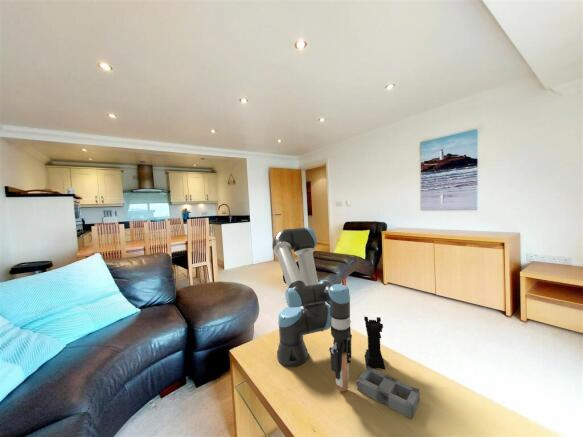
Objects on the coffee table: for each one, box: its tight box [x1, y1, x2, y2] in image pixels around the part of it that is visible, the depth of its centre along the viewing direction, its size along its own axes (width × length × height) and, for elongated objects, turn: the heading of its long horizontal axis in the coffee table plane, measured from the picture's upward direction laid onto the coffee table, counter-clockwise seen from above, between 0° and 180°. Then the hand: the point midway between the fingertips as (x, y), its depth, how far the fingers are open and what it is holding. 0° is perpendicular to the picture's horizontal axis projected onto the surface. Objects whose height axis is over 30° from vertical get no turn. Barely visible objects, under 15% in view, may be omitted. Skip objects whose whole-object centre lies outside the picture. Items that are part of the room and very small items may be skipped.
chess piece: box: [363, 316, 386, 370], centre depth 107 cm, size 8×8×20 cm
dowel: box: [336, 352, 349, 392], centre depth 93 cm, size 4×4×14 cm
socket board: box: [356, 366, 421, 420], centre depth 90 cm, size 20×10×4 cm, turn 48°
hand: (342, 380), depth 93 cm, fingers closed on dowel, 4 cm apart
